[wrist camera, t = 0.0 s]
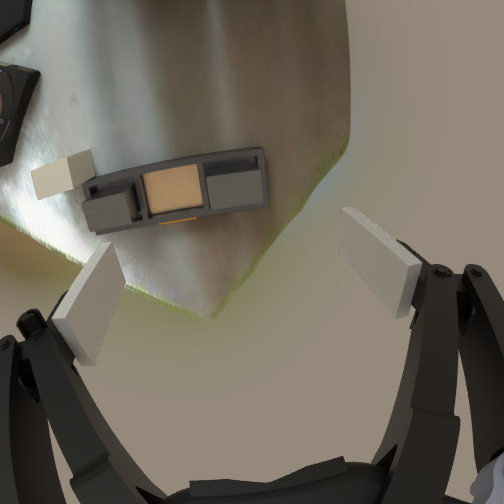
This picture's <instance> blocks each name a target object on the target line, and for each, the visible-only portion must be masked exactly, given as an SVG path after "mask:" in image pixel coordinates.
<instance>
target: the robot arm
mask: <svg viewBox="0 0 504 504" xmlns="http://www.w3.org/2000/svg"><path fill="white" fill-rule="evenodd" d="M340 211H341V212H340V235H339V251H340V252H341V254H342V255H343V256H344V257H345V258H346V259H347V261H348V262H349V263H350V264H351V265H352V267H353V268H354V269H355V270H356V271H357V272H358V274H359V275H360V276H361V277H362V279H363V280H364V281H365V282H366V284H367V285H368V286H369V287H370V289H371V290H372V291H373V292H374V293H375V295H376V296H377V297H378V298H379V300H380V301H381V302H382V304H383V305H384V306H385V308H386V309H387V310H388V311H389V313H390V314H391V315H392V316H393V318H394V319H398V318H401V317H404V316H407V315H408V313H409V310H410V307H411V305H412V306H413V307H414V308H415V309H416V311H415V314H414V317H413V320H412V323H411V326H410V329H412V331H411V337H410V342H409V347H408V352H407V357H406V362H405V366H404V371H403V375H402V379H401V383H400V387H399V390H398V394H397V398H396V401H395V405H394V408H393V411H392V414H391V418H390V421H389V424H388V427H387V429H386V432H385V435H384V438H383V440H382V443H381V445H380V447H379V449H378V451H377V453H376V454H375V456H374V458H373V460H372V462H371V464H369V463H362V462H345V460H344V457H343V456H341V457H338V458H334V459H331V460H328V461H324V462H320V463H317V464H313V465H309V466H306V467H304V468H302V469H299V470H297V471H295V472H293V473H291V474H289V475H286V476H284V477H282V478H279V479H277V480H275V481H272V482H268V483H262V482H249V481H239V480H230V479H220V480H199V481H189V482H190V488H186V489H183V490H180V491H178V492H176V493H174V494H172V495H170V496H167V495H166V494H165V493H164V492H163V491H161V490H160V489H159V488H158V487H157V486H155V485H154V484H153V483H152V482H151V481H150V480H149V479H148V477H147V476H146V475H145V474H144V473H143V471H142V470H141V469H140V468H139V467H138V465H137V464H136V463H135V462H134V460H133V459H132V458H131V456H130V455H129V454H128V452H127V451H126V450H125V448H124V447H123V446H122V445H121V443H120V441H119V440H118V439H117V437H116V436H115V434H114V433H113V431H112V430H111V428H110V427H109V425H108V424H107V422H106V420H105V419H104V417H103V416H102V414H101V412H100V411H99V409H98V408H97V406H96V404H95V402H94V401H93V399H92V397H91V395H90V394H89V392H88V390H87V388H86V386H85V384H84V382H83V381H82V379H81V377H80V375H79V373H78V371H77V369H76V367H75V366H74V364H73V361H74V359H75V357H76V359H77V360H78V362H79V363H80V364H81V366H95V364H96V361H97V358H98V355H99V352H100V349H101V346H102V343H103V340H104V337H105V334H106V331H107V328H108V326H109V323H110V320H111V318H112V315H113V313H114V310H115V307H116V305H117V302H118V300H119V297H120V295H121V293H122V290H123V288H124V285H125V283H126V281H125V278H124V275H123V272H122V270H121V267H120V264H119V261H118V258H117V255H116V252H115V249H114V246H113V243H112V241H111V242H106V243H101V244H100V245H99V247H98V248H97V249H96V251H95V252H94V253H93V255H92V256H91V258H90V259H89V260H88V262H87V263H86V265H85V266H84V268H83V269H82V271H81V272H80V274H79V275H78V277H77V278H76V280H75V281H74V283H73V284H72V286H71V287H70V289H69V290H67V291H66V292H65V293H64V294H63V295H62V296H61V298H60V299H59V301H58V304H56V306H55V307H54V309H53V311H52V312H51V314H50V316H49V317H48V319H47V321H46V322H45V320H44V318H43V317H42V315H41V313H40V311H39V310H38V309H30V310H28V311H26V312H25V313H23V314H22V315H21V316H20V318H19V319H18V321H17V324H16V326H17V327H18V328H19V330H20V332H21V334H22V335H23V337H24V338H25V341H22V342H19V343H18V342H17V340H16V339H15V337H14V336H13V335H7V336H5V337H3V338H2V339H1V340H0V504H66V501H65V498H64V494H63V491H62V488H61V484H60V481H59V477H58V473H57V469H56V465H55V460H54V455H53V451H52V445H51V439H50V433H49V426H48V420H49V422H50V425H51V428H52V430H53V433H54V435H55V437H56V440H57V442H58V444H59V447H60V449H61V451H62V453H63V455H64V457H65V459H66V461H67V463H68V465H69V467H70V469H71V471H72V473H73V478H72V479H70V485H71V487H72V490H73V492H74V493H75V495H76V497H77V498H78V500H79V502H80V503H81V504H504V301H503V299H502V297H501V295H500V294H499V292H498V290H497V288H496V286H495V285H494V283H493V281H492V279H491V278H490V276H489V274H488V273H487V272H486V270H484V269H483V268H482V267H481V266H478V265H474V264H468V265H466V267H465V270H464V273H463V274H454V273H453V271H452V270H450V269H449V268H447V267H446V266H443V265H440V264H433V265H431V264H430V263H428V262H427V261H426V260H425V259H423V258H422V257H421V256H420V255H419V254H417V253H416V252H415V251H414V250H412V249H411V248H410V247H409V246H408V245H407V244H406V243H403V242H401V241H399V240H395V239H394V238H392V237H391V236H390V235H389V234H387V233H386V232H385V231H384V230H382V229H381V228H380V227H379V226H377V225H376V224H375V223H373V222H372V221H371V220H369V219H368V218H367V217H366V216H364V215H363V214H362V213H360V212H359V211H357V210H356V209H355V208H353V207H343V208H341V210H340ZM458 349H459V353H460V356H461V361H462V366H463V370H464V375H465V380H466V386H467V391H468V398H469V404H470V411H471V420H472V430H473V445H474V456H475V463H476V469H477V473H478V475H477V477H476V480H475V481H474V482H473V483H472V485H471V487H470V494H471V495H472V496H474V500H473V502H472V503H468V502H465V501H462V500H459V499H456V498H453V497H450V496H448V495H445V491H446V488H447V484H448V481H449V477H450V473H451V470H452V466H453V462H454V457H455V453H456V448H457V443H458V436H459V431H460V418H459V416H455V415H454V405H455V398H456V387H457V374H458V372H457V371H458ZM47 418H48V419H47Z"/></svg>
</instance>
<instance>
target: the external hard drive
mask: <svg viewBox="0 0 504 504" xmlns="http://www.w3.org/2000/svg"><path fill="white" fill-rule="evenodd" d="M31 7H32V0H0V44H1V43H2V42H4V41H5V40H6V39H8V38H9V37H10V36H12V35H13V34H15V33H16V32H17V31H19V30H20V29H22V28H23V27H25V26H26V25H28V24H29V23H30V16H31Z"/></svg>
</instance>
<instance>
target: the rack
mask: <svg viewBox="0 0 504 504" xmlns="http://www.w3.org/2000/svg"><path fill="white" fill-rule="evenodd" d="M82 185H83V189H84V193H85V197H86V200H85V201H84V202H82V207H83V210H84V214H85V217H86V221H87V224H88V227H89V230H90V232H92V231H95V232H96V235H101V234H106V233H111V232H116V231H121V230H126V229H131V228H137V227H142V226H148V225H153V224H159V225H161V224H167V223H173V222H179V221H185V220H191V219H197V217H201V216H208V215H214V214H221V213H228V212H235V211H242V210H249V209H256V208H264V207H268V195H267V182H266V170H265V158H264V148H262V147H254V148H244V149H236V150H228V151H221V152H214V153H207V154H200V155H194V156H188V157H183V158H177V159H172V160H166V161H161V162H156V163H152V164H147V165H142V166H138V167H134V168H129V169H125V170H121V171H117V172H113V173H109V174H105V175H102V176H98V177H94V178H91V179H89V180H87V181H85V182H84V183H82Z"/></svg>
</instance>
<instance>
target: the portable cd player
mask: <svg viewBox="0 0 504 504" xmlns="http://www.w3.org/2000/svg"><path fill="white" fill-rule="evenodd" d="M40 74H41V73H40V72H39V71H37V70H34V69H30V68H26V67H21V66H17V65H13V64H8V63H3V62H0V167H2V166H5V165H7V164H10V163H12V161H13V156H14V152H15V148H16V144H17V140H18V136H19V133H20V129H21V126H22V123H23V119H24V116H25V113H26V110H27V107H28V104H29V101H30V99H31V96H32V93H33V91H34V88H35V86H36V83H37V81H38V79H39V76H40Z"/></svg>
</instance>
